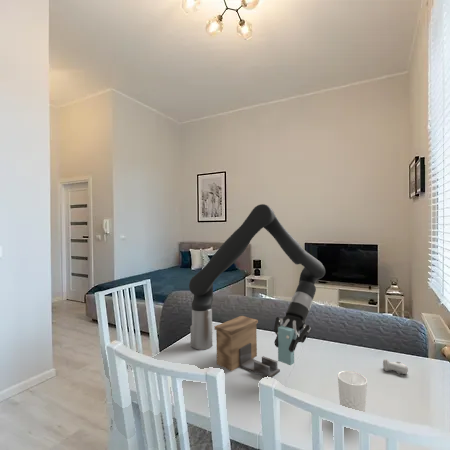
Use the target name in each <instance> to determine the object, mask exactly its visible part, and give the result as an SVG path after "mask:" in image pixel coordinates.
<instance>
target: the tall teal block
mask: <svg viewBox="0 0 450 450" xmlns="http://www.w3.org/2000/svg"><path fill="white" fill-rule="evenodd" d="M293 336H294V329H292V328H288V327H285V326H282V325H281V326H280V327H278V347H277V360H278V361H277V362H281V363H283V364H286V365H288V366H292V365H293V364H295V350H294V351H293V352H290V351H289V346H290V344H291V341H292V340H293Z"/></svg>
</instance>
